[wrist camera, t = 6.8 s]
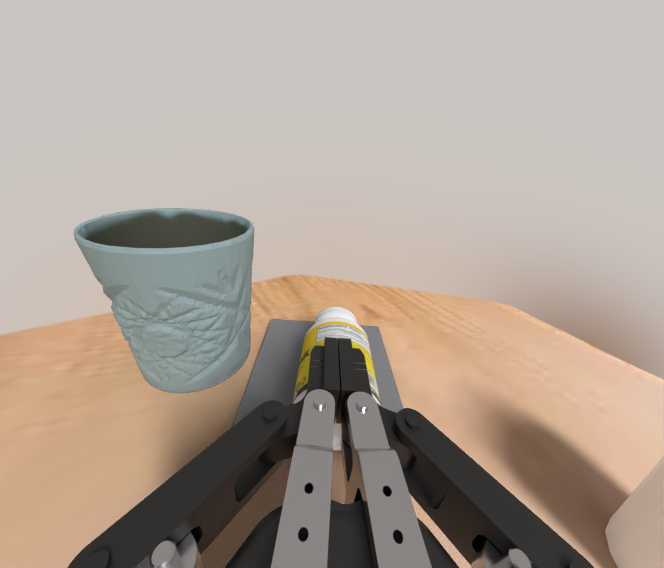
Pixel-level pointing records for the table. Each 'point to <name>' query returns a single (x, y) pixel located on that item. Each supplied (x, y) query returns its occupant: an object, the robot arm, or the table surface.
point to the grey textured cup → (176, 290)
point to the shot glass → (640, 525)
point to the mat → (283, 363)
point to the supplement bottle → (326, 325)
